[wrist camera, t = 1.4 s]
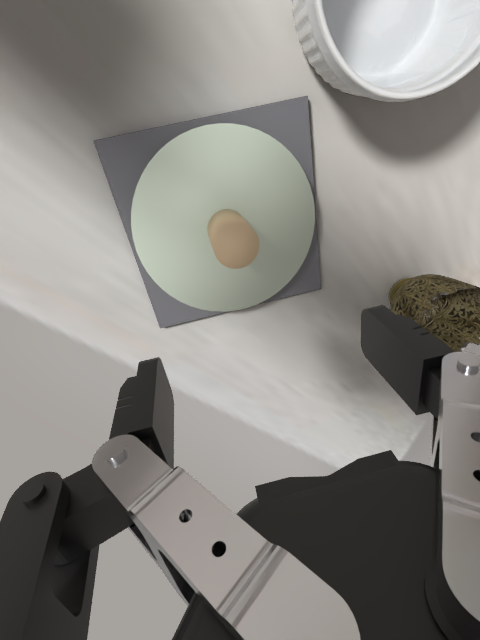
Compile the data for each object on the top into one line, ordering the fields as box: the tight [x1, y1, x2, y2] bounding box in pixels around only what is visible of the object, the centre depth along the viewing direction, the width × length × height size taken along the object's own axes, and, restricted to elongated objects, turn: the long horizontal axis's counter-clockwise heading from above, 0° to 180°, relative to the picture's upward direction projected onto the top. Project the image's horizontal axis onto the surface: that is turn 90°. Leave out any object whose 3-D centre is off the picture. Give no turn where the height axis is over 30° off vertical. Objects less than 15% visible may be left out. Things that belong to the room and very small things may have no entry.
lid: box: [131, 123, 315, 312], centre depth 26 cm, size 15×15×6 cm
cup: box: [389, 274, 480, 352], centre depth 32 cm, size 8×7×8 cm
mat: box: [94, 96, 321, 328], centre depth 29 cm, size 16×16×1 cm
